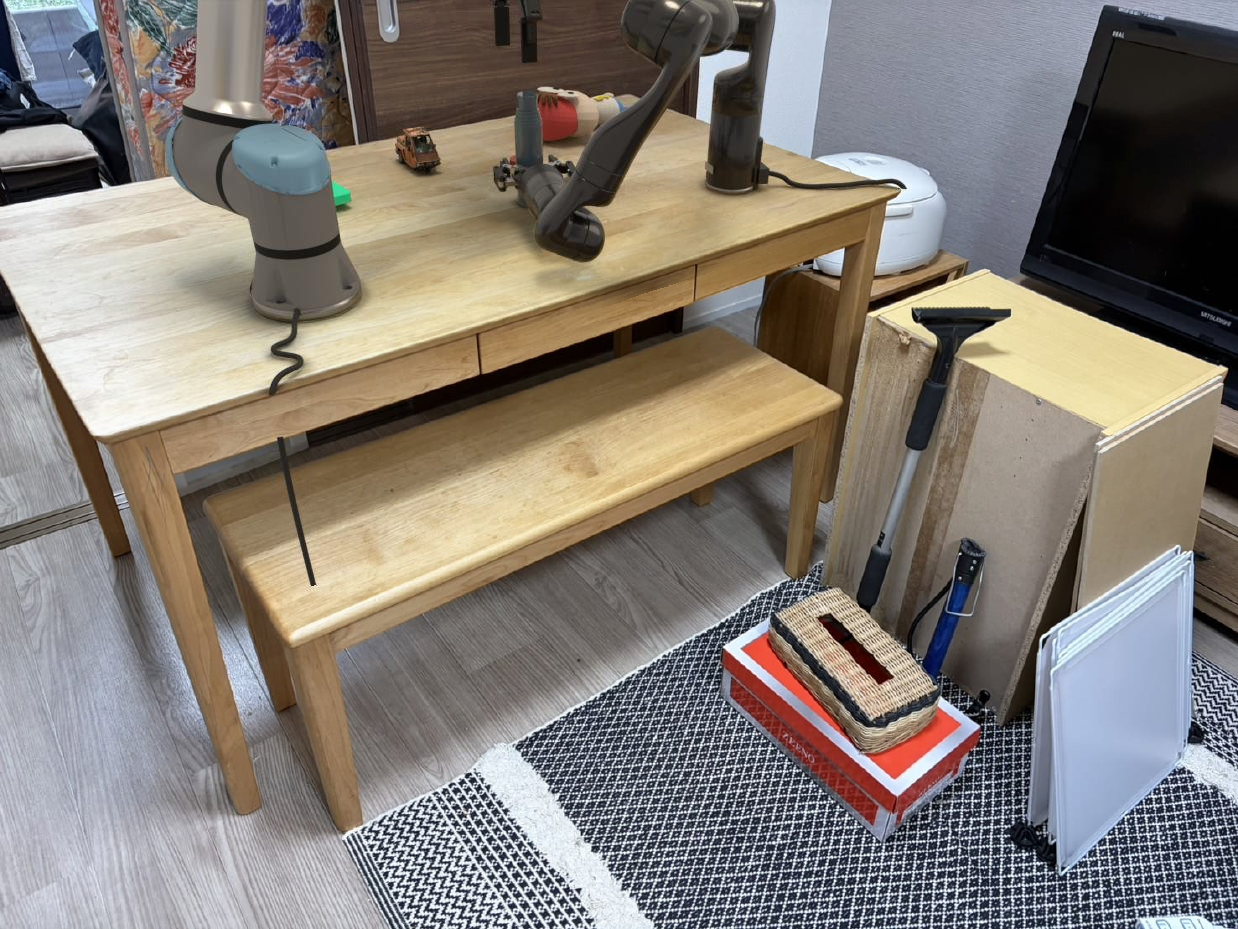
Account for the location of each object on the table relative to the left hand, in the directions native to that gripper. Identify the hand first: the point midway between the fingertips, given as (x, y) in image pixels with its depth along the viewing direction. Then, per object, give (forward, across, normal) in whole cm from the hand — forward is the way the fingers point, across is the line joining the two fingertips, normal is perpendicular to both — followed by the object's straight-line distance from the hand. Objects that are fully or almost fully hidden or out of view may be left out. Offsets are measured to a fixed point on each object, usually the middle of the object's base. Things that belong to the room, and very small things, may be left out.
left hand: (515, 53), depth 168 cm
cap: (+19, 0, +1) cm, 19 cm away
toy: (+20, -17, +23) cm, 35 cm away
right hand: (+14, +15, -4) cm, 21 cm away
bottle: (+21, +17, -4) cm, 28 cm away
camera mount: (+22, +3, -39) cm, 45 cm away
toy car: (+21, -9, -17) cm, 29 cm away
